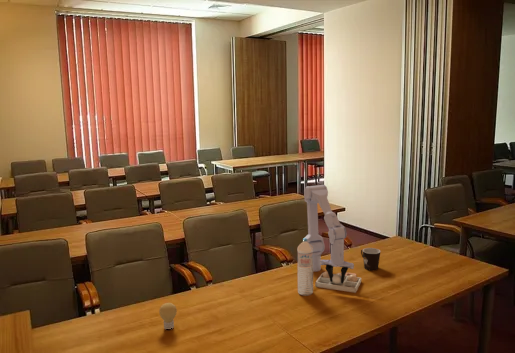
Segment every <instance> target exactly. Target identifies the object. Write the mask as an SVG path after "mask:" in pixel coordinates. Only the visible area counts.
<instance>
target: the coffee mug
mask: <svg viewBox="0 0 515 353" xmlns="http://www.w3.org/2000/svg"><path fill="white" fill-rule="evenodd" d="M360 254H361V257H362V258H363V268H364V269H365V270H366V271H377V270H378V269H379V263H380V258H381V257H380V256H381V250H380V249H379V248H374V247H365V248H363V249H361V250H360Z"/></svg>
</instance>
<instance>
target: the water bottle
mask: <svg viewBox="0 0 515 353" xmlns="http://www.w3.org/2000/svg"><path fill="white" fill-rule="evenodd" d="M296 249H297V250H296V251H297V266H296V267H297V293H298V295H300V296H303V297H305V296H306V297H307V296H311V295H312V294H313V293H314V271H313V247H312V246H311V244H309V243H308V242H307V238H302V242H300V243H299V245H298V246H297V248H296Z"/></svg>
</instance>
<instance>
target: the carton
mask: <svg viewBox="0 0 515 353" xmlns="http://www.w3.org/2000/svg"><path fill="white" fill-rule="evenodd" d="M335 274H339V275H341V272H337V273H333V275H335ZM361 282H362V277H358V276H357V274H356V275H353V274H352V275H347V276H345V278H344V282H343V283H339V284H335V283H334V282H333V281H332V282H330V277H329V274H328V272H327V270H326V271H324V272H322V273H321V274H320V275H319V277H318V278H317V279H316V281H315V286H314V287H316V288H322V289H323V288H324V289H328V290H334V291H335V290H337V291H341V292H343V291H344V292H348V293H354V294H356V293H357V291H358V290H359V287H360V285H361V284H362V283H361Z"/></svg>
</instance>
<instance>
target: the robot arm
mask: <svg viewBox="0 0 515 353" xmlns="http://www.w3.org/2000/svg"><path fill="white" fill-rule="evenodd" d="M328 194H329V191H328V188H327V186H326V185H325V184H317V185H310V186H309V185H307V186H305V188H304V189H303V196H304V198H303V199H304V202H306V210H307V211H306V212H307V213H306V214H307V233H308V234H306V236H305V237H304V238H307V242H308V243H309V244H311V246H312V247H313V272H320V271H321V270H322V269H321V267H322V266H325V270H326V271H327V272H328V274H329V277H330V282H332V277H333V274H334V267H335V268H337V267H339V268H341V269H340V273H341V283H343V282H344V281H345V280H344V278H345V274H346V273H347V271H348V270H349V269H351V270H354V269H355V264H354V263H353V262H348V261H345V260H344V258H345V256H344V254H345V239H346V238H347V235H348V234H347V229H346V226H344V225H343V223H341V222H340V220H339V218H338V216H337V214H336V212H333V211H332V208H331V205H330V202H329V199H328V197H329V196H328ZM318 205H319V207H320V209H321V210H322V212H323V214H324V217H323V220H324V222H325V225H326V226H327V229H328V232H327V233H328V234H327V235H328V238H329V243H330V259H322V257H321V256H322V254H323V252H324V251H325V248H326V247H325V246H326V245H325V243H324V237H322V236H321V235H320V234H319V215H318V214H319V213H318V212H319V210H318Z"/></svg>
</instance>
